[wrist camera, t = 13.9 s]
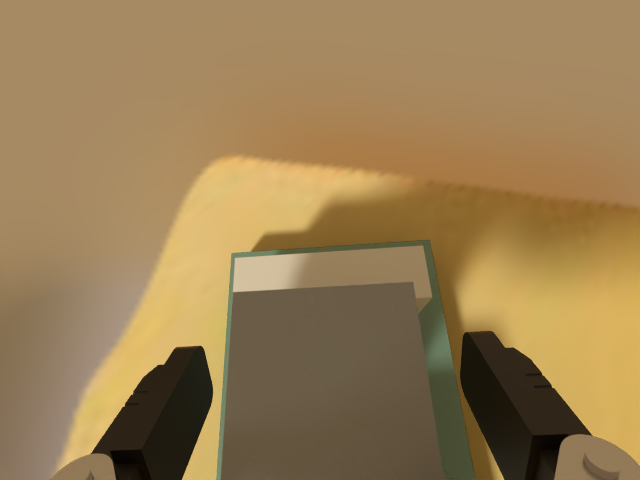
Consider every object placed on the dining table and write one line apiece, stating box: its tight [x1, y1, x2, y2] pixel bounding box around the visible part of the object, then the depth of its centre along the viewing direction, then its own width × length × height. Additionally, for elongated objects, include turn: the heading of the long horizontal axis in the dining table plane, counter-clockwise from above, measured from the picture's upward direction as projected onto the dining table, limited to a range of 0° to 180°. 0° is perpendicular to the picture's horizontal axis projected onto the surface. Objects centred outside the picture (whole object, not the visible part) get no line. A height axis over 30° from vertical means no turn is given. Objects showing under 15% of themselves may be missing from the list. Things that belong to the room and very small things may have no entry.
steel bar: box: [221, 282, 444, 480], centre depth 12 cm, size 4×4×12 cm
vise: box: [216, 240, 475, 480], centre depth 17 cm, size 16×12×6 cm
